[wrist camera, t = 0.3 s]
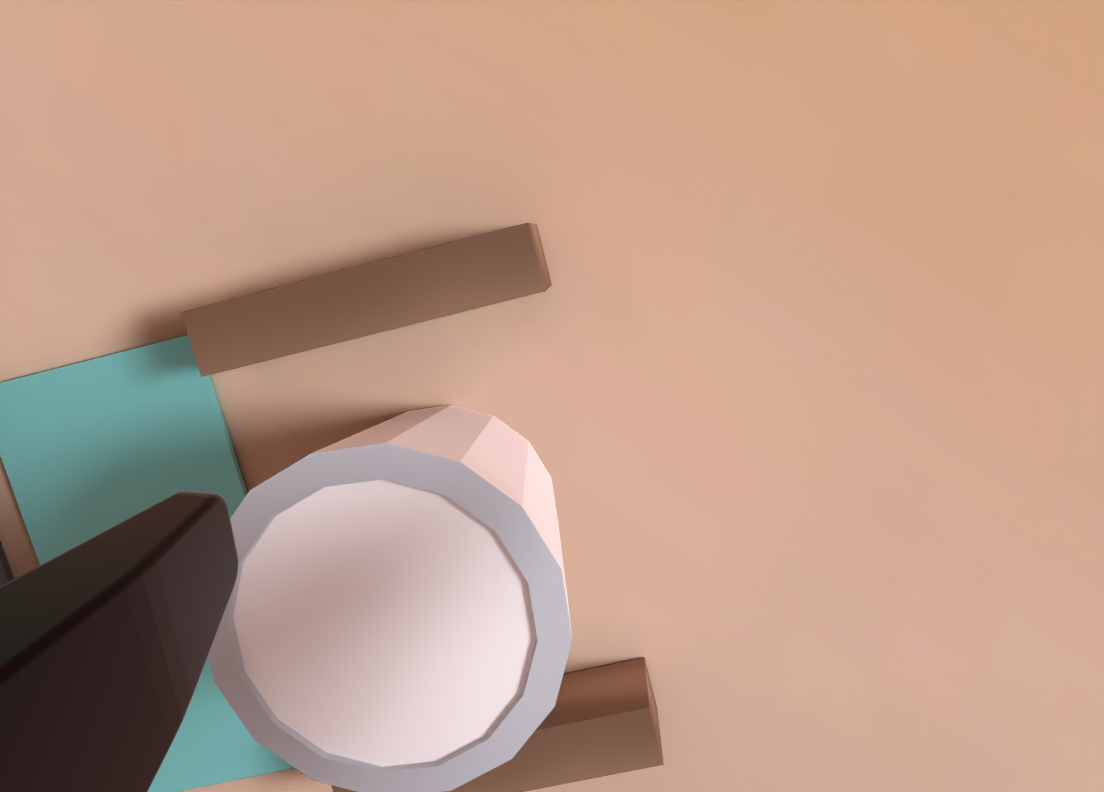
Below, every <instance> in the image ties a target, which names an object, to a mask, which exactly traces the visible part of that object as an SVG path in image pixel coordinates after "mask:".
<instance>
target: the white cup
mask: <svg viewBox="0 0 1104 792" xmlns="http://www.w3.org/2000/svg"><path fill="white" fill-rule="evenodd" d="M230 520H231V525H232V530H233V535H234V540H235V545H236V550H237V555H238V574H237V579H236V583H235V586H234V588H233V591H232V594H231V596H230V599H229V601H228V604H227V607H226V609H225V612H224V615H223V617H222V620H221V623H220V625H219V628H218V631H217V633H216V636H215V639H214V641H213V644H212V647H211V649H210V652H209V655H208V659H209V663H210V667H211V672H212V676H213V680H214V683H215V684H216V686H217V687H218V689H219V690H220V691H221V693H222V694H223V696H224V697H225V699H226V700H227V702H228V703H229V704H230V706H231V707H232V709H233V710H234V712H235V713H236V714H237V716H238V717H239V719H240V720H241V722H242V723H243V724H244V726H245V727H246V729H247V730H248V732H249V733H250V735H251V736H252V737H253V739H254V740H255V741H257V742H258V743H260V744H261V745H262V746H264V747H265V748H267V749H268V750H270V751H271V752H273V753H274V754H276V755H277V756H278V757H280V758H281V759H283V760H284V761H286V762H287V763H289V764H290V765H291V766H293V767H294V768H296V769H297V770H299V771H300V772H302V773H303V774H305V775H306V776H307V777H309V778H310V779H312V780H314V781H318V782H322V783H326V784H329V785H333V786H337V787H341V788H345V789H349V790H353V791H356V792H444V791H452V790H453V789H455V788H457V787H459V786H461V785H463V784H465V783H467V782H469V781H471V780H473V779H475V778H476V777H478V776H480V775H482V774H484V773H486V772H488V771H490V770H492V769H494V768H496V767H498V766H499V765H501V764H503V763H505V762H507V761H509V760H511V759H512V758H513V757H514V756H515V755H516V753H517V752H518V751H519V750H520V748H521V747H522V746H523V745H524V743H525V742H526V741H527V740H528V739H529V737H530V736H531V735H532V734H533V732H534V731H535V730H536V729H537V728H538V726H539V725H540V724H541V723H542V721H543V720H544V719H545V718H546V717H547V715H548V714H549V713H550V712H551V710H552V709H553V708H554V707H555V704H556V700H557V696H558V693H559V689H560V685H561V681H562V678H563V674H564V670H565V667H566V663H567V659H568V656H569V652H570V648H571V644H572V641H573V639H572V631H571V623H570V615H569V607H568V598H567V590H566V582H565V574H564V566H563V558H562V550H561V542H560V534H559V526H558V518H557V512H556V505H555V499H554V492H553V486H552V480H551V476H550V475H549V473H548V472H547V470H546V468H545V467H544V465H543V463H542V462H541V460H540V459H539V457H538V455H537V454H536V452H535V450H534V449H533V447H532V446H531V444H530V442H529V441H528V440H527V439H525V438H524V437H522V436H521V435H520V434H518V433H517V432H516V431H514V430H513V429H511V428H510V427H509V426H507V425H506V424H505V423H503V422H502V421H501V420H499V419H498V418H496V417H495V416H494V415H490V414H486V413H482V412H478V411H474V410H470V409H466V408H462V407H458V406H454V405H446V406H439V407H432V408H425V409H418V410H411V411H407V412H405V413H403V414H400V415H398V416H396V417H394V418H391V419H389V420H387V421H384V422H382V423H380V424H377V425H375V426H373V427H370V428H368V429H366V430H364V431H361V432H359V433H357V434H354V435H352V436H350V437H347V438H345V439H343V440H340V441H338V442H336V443H334V444H331V445H329V446H327V447H324V448H322V449H320V450H317V451H315V452H313V453H311V454H309V455H307V456H306V457H304V458H303V459H301V460H299V461H298V462H296V463H294V464H293V465H291V466H289V467H288V468H286V469H284V470H283V471H281V472H279V473H278V474H276V475H274V476H273V477H271V478H269V479H268V480H266V481H264V482H263V483H261V484H259V485H258V486H256V487H254V488H253V489H251V490H250V491H249V492H248V494H247V495H246V497H245V498H244V500H243V501H242V502H241V504H240V505H239V507H238V508H237V510H236V511H235V513H234V514H233V515H232V517H231V518H230Z"/></svg>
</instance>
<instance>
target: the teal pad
mask: <svg viewBox="0 0 1104 792" xmlns="http://www.w3.org/2000/svg"><path fill="white" fill-rule="evenodd" d="M0 456H1V459H2V462H3V465H4V467H5V470H6V473H7V476H8V478H9V481H10V484H11V487H12V490H13V492H14V495H15V498H16V501H17V503H18V506H19V509H20V512H21V514H22V517H23V520H24V523H25V525H26V528H27V531H28V534H29V537H30V539H31V542H32V545H33V548H34V550H35V553H36V556H37V559H38V561H39V564H40V565H42V564H44V563H46V562H48V561H49V560H51V559H53V558H55V557H57V556H59V555H61V554H63V553H64V552H66V551H68V550H70V549H72V548H74V547H76V546H78V545H80V544H81V543H83V542H85V541H87V540H89V539H91V538H93V537H95V536H97V535H98V534H100V533H102V532H104V531H106V530H108V529H110V528H112V527H113V526H115V525H117V524H119V523H121V522H123V521H125V520H127V519H129V518H130V517H132V516H134V515H136V514H138V513H140V512H142V511H144V510H145V509H147V508H149V507H151V506H153V505H155V504H157V503H159V502H161V501H162V500H164V499H166V498H168V497H170V496H172V495H174V494H176V493H178V492H186V491H188V492H199V493H211V494H217V495H219V496H221V497H222V498H223V499H224V500H225V502H226V504H227V507H228V510H229V515H230V518H231V517H232V515H233V514H234V513H235V511H236V510H237V508H238V507H239V505H240V504H241V502H242V501H243V500H244V498H245V497H246V495H247V494H248V493H247V490H246V486H245V483H244V480H243V477H242V474H241V471H240V468H239V464H238V461H237V458H236V455H235V452H234V449H233V445H232V442H231V439H230V436H229V433H228V430H227V427H226V423H225V420H224V417H223V414H222V411H221V408H220V404H219V401H218V398H217V395H216V392H215V389H214V386H213V382H212V379H211V376H210V375H207V376H203V377H201V374H200V371H199V368H198V365H197V362H196V359H195V356H194V352H193V349H192V346H191V343H190V340H189V337H188V335H186V336H182V337H178V338H174V339H170V340H166V341H162V342H158V343H154V344H150V345H147V346H143V347H139V348H135V349H131V350H127V351H123V352H119V353H115V354H111V355H107V356H103V357H100V358H96V359H92V360H88V361H84V362H80V363H76V364H72V365H68V366H64V367H60V368H56V369H52V370H49V371H45V372H41V373H37V374H33V375H29V376H25V377H21V378H17V379H13V380H9V381H5V382H1V383H0ZM292 768H294V767H293V766H291V765H290V764H289V763H287V762H286V761H284V760H283V759H281V758H280V757H278V756H277V755H276V754H274V753H273V752H271V751H270V750H268V749H267V748H265V747H264V746H262V745H261V744H260V743H258V742H257V741H255V740H254V739H253V737H252V736H251V735H250V733H249V732H248V730H247V729H246V727H245V726H244V724H243V723H242V722H241V720H240V719H239V717H238V716H237V714H236V713H235V712H234V710H233V709H232V707H231V706H230V704H229V703H228V702H227V700H226V699H225V697H224V696H223V694H222V693H221V691H220V690H219V689H218V687H217V686H216V684H215V683H214V680H213V676H212V672H211V667H210V663H209V659H208V657H207V660H206V663H205V665H204V668H203V671H202V673H201V676H200V678H199V681H198V684H197V686H196V689H195V692H194V694H193V697H192V700H191V702H190V704H189V707H188V709H187V712H186V714H185V717H184V719H183V721H182V723H181V726H180V728H179V730H178V732H177V734H176V736H175V738H174V740H173V742H172V744H171V746H170V748H169V750H168V752H167V754H166V756H165V758H164V760H163V762H162V764H161V766H160V768H159V770H158V772H157V774H156V776H155V778H154V780H153V782H152V784H151V786H150V788H149V790H148V792H178V791H183V790H188V789H193V788H198V787H203V786H208V785H213V784H218V783H223V782H228V781H233V780H238V779H243V778H248V777H253V776H257V775H262V774H267V773H272V772H277V771H282V770H287V769H292Z"/></svg>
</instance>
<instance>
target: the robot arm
mask: <svg viewBox="0 0 1104 792" xmlns="http://www.w3.org/2000/svg"><path fill="white" fill-rule="evenodd" d="M237 574H238V555H237V550H236V545H235V540H234V535H233V530H232V525H231V520H230V515H229V510H228V507H227V504H226V502H225V500H224V499H223V498H222V497H221V496H219V495H217V494H211V493H199V492H188V491H186V492H178V493H176V494H174V495H172V496H170V497H168V498H166V499H164V500H162V501H161V502H159V503H157V504H155V505H153V506H151V507H149V508H147V509H145V510H144V511H142V512H140V513H138V514H136V515H134V516H132V517H130V518H129V519H127V520H125V521H123V522H121V523H119V524H117V525H115V526H113V527H112V528H110V529H108V530H106V531H104V532H102V533H100V534H98V535H97V536H95V537H93V538H91V539H89V540H87V541H85V542H83V543H81V544H80V545H78V546H76V547H74V548H72V549H70V550H68V551H66V552H64V553H63V554H61V555H59V556H57V557H55V558H53V559H51V560H49V561H48V562H46V563H44V564H42V565H40V566H38V567H36V568H34V569H32V570H31V571H29V572H27V573H25V574H23V575H21V576H19V577H17V578H15V579H14V580H12V581H10V582H8V583H6V584H4V585H2V586H0V792H148V790H149V788H150V786H151V784H152V782H153V780H154V778H155V776H156V774H157V772H158V770H159V768H160V766H161V764H162V762H163V760H164V758H165V756H166V754H167V752H168V750H169V748H170V746H171V744H172V742H173V740H174V738H175V736H176V734H177V732H178V730H179V728H180V726H181V723H182V721H183V719H184V717H185V714H186V712H187V709H188V707H189V704H190V702H191V700H192V697H193V694H194V692H195V689H196V686H197V684H198V681H199V678H200V676H201V673H202V671H203V668H204V665H205V663H206V660H207V657H208V655H209V652H210V649H211V647H212V644H213V641H214V639H215V636H216V633H217V631H218V628H219V625H220V623H221V620H222V617H223V615H224V612H225V609H226V607H227V604H228V601H229V599H230V596H231V594H232V591H233V588H234V586H235V583H236V579H237Z"/></svg>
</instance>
